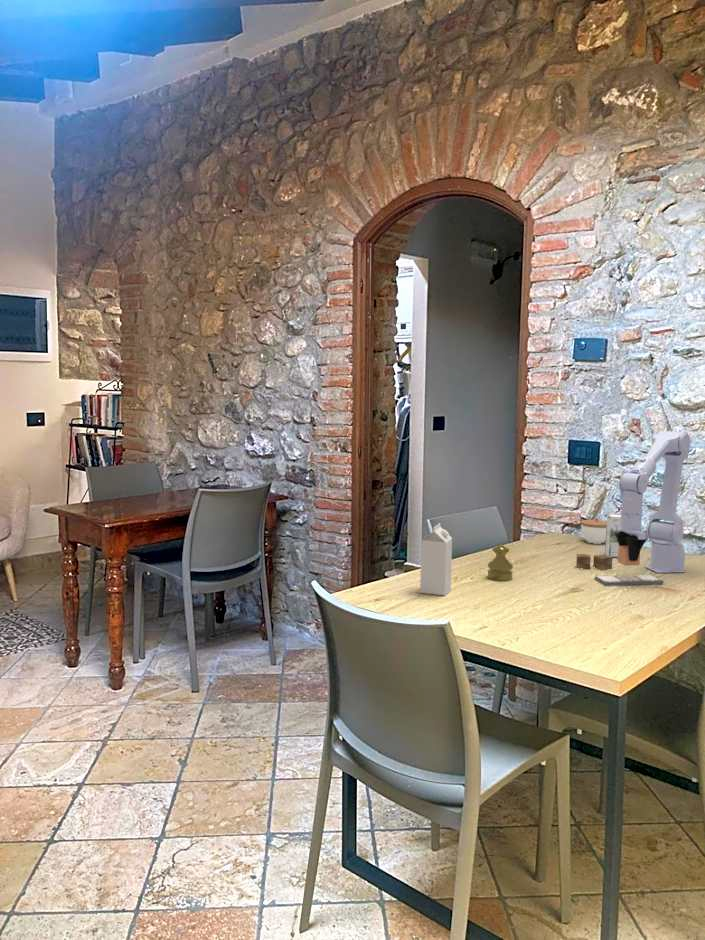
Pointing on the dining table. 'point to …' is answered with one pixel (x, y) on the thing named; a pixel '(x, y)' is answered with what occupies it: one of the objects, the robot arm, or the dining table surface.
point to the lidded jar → (594, 531)
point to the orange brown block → (626, 556)
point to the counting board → (629, 580)
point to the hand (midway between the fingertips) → (629, 558)
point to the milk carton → (436, 562)
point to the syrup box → (612, 535)
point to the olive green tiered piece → (500, 565)
